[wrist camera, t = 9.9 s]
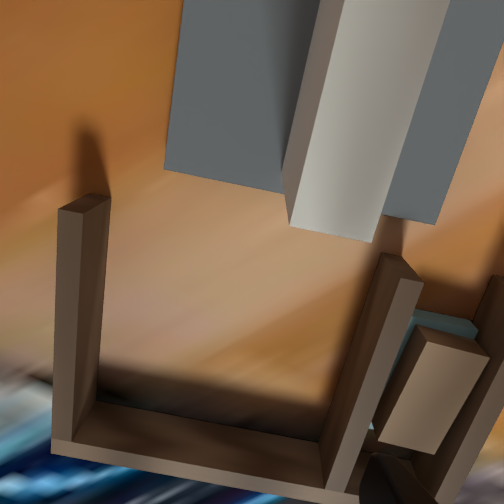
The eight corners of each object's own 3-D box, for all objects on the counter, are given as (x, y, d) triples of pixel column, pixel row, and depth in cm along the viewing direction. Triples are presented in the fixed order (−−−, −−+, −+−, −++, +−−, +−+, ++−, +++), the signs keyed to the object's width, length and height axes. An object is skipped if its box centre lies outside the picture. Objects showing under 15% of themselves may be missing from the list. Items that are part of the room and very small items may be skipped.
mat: (169, 166, 18) (163, 169, 17) (203, -106, 15) (198, -120, 14) (426, 219, 18) (434, 225, 17) (518, -35, 15) (535, -44, 14)
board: (281, 172, 17) (289, 225, 10) (339, -84, 14) (419, -306, 6) (327, 182, 17) (371, 242, 10) (395, -71, 14) (539, -275, 6)
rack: (77, 410, 23) (50, 453, 20) (90, 193, 19) (58, 208, 16) (420, 476, 24) (441, 525, 21) (513, 279, 19) (554, 309, 16)
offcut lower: (358, 407, 23) (364, 427, 22) (398, 301, 21) (408, 315, 19) (417, 419, 23) (426, 440, 22) (464, 314, 21) (478, 330, 19)
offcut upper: (370, 418, 21) (377, 440, 20) (415, 324, 19) (427, 341, 18) (423, 431, 22) (434, 454, 20) (474, 339, 19) (490, 357, 18)
